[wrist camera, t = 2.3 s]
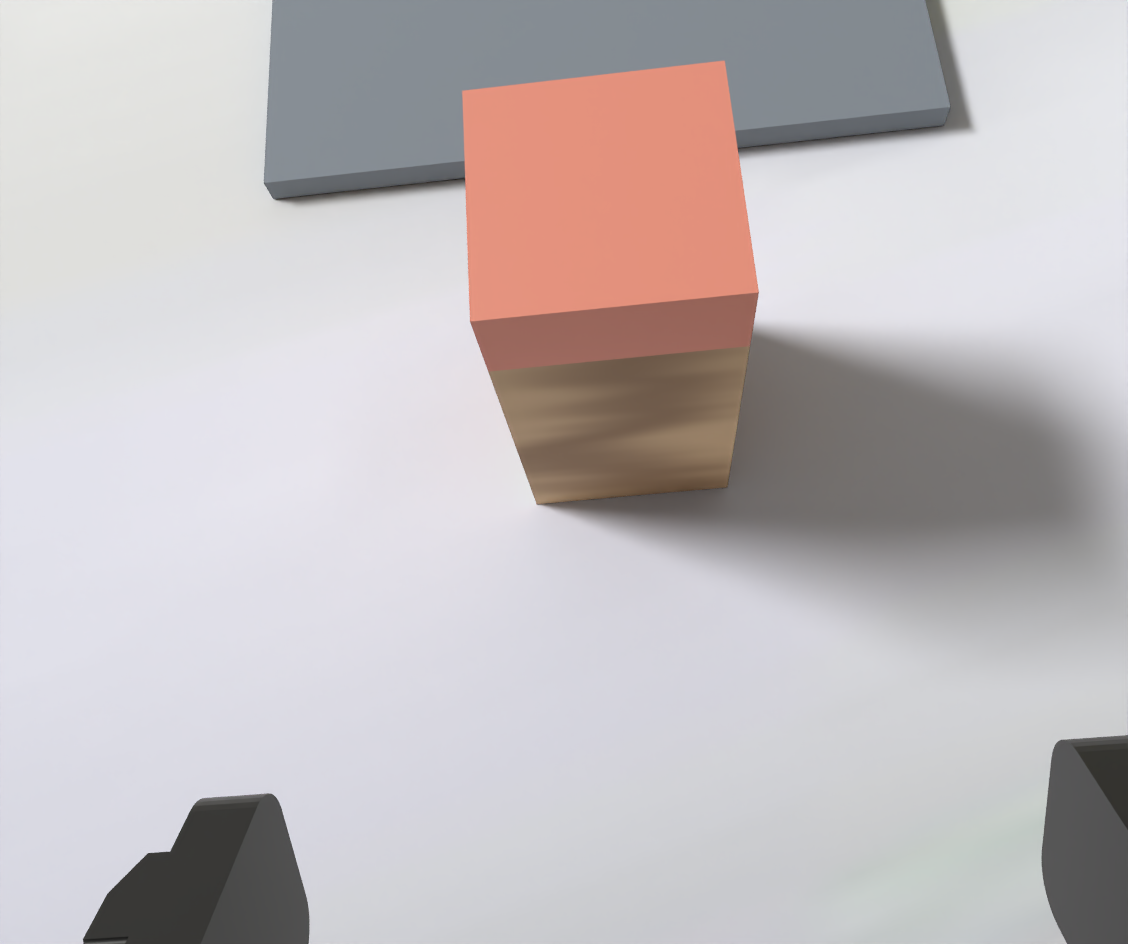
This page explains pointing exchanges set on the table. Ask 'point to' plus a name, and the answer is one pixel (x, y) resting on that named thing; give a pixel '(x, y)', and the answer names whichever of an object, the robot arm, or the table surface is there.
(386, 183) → the mat
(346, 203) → the table surface
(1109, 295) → the table surface
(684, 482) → the block
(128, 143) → the table surface
